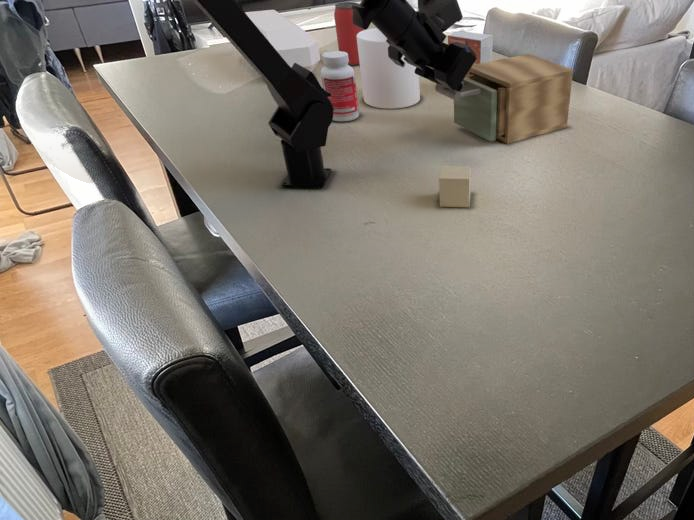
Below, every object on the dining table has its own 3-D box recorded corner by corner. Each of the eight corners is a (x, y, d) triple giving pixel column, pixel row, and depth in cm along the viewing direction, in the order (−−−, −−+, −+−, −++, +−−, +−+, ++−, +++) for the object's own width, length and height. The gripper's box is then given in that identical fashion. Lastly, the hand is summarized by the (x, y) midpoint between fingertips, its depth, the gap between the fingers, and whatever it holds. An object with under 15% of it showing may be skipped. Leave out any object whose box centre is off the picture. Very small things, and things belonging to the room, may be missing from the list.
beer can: (337, 60, 143) (329, 2, 135) (363, 57, 145) (357, 0, 137) (344, 67, 139) (336, 8, 131) (371, 64, 141) (365, 6, 133)
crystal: (253, 37, 121) (222, 10, 138) (265, 87, 127) (234, 56, 145) (321, 29, 126) (283, 5, 144) (328, 78, 133) (291, 49, 150)
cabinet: (507, 143, 105) (509, 83, 98) (466, 123, 113) (466, 65, 106) (566, 127, 112) (573, 69, 105) (524, 109, 119) (528, 53, 112)
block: (469, 207, 87) (469, 178, 84) (439, 206, 87) (438, 178, 84) (470, 194, 90) (470, 166, 87) (442, 193, 90) (441, 165, 87)
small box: (447, 89, 127) (446, 34, 120) (460, 83, 131) (459, 29, 124) (480, 95, 125) (480, 40, 118) (491, 88, 128) (493, 34, 121)
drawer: (464, 148, 101) (463, 97, 95) (428, 129, 108) (426, 79, 102) (547, 126, 109) (552, 77, 104) (509, 109, 116) (512, 62, 110)
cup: (367, 110, 117) (360, 43, 109) (360, 92, 125) (353, 28, 117) (425, 106, 119) (421, 40, 111) (414, 89, 128) (410, 25, 119)
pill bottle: (364, 118, 114) (357, 55, 106) (335, 124, 111) (325, 60, 104) (351, 109, 118) (343, 47, 110) (322, 115, 115) (312, 52, 107)
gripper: (465, -17, 81) (522, 59, 94) (397, -35, 92) (456, 35, 104) (421, 55, 83) (482, 120, 96) (359, 29, 94) (421, 90, 106)
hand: (460, 88), depth 100 cm, fingers closed, pressing on drawer
